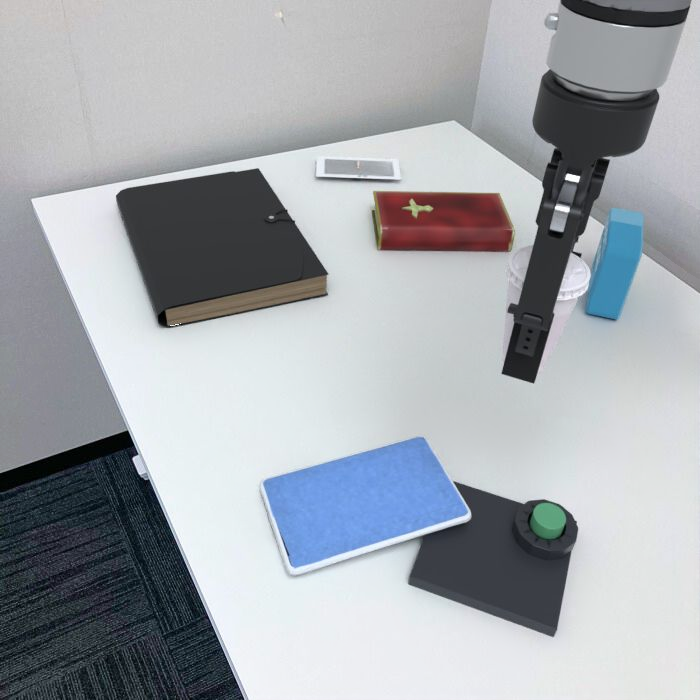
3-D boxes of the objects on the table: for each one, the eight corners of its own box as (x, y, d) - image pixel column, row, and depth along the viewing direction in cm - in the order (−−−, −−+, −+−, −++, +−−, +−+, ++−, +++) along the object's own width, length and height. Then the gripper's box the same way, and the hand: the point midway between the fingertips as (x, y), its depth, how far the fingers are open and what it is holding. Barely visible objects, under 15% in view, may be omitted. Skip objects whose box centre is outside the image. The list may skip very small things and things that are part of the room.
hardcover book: (510, 253, 117) (516, 229, 115) (377, 251, 116) (379, 228, 113) (495, 213, 126) (499, 191, 124) (371, 211, 125) (373, 189, 122)
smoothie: (516, 327, 67) (552, 187, 58) (576, 363, 64) (624, 220, 55) (471, 357, 64) (501, 213, 55) (532, 397, 60) (576, 250, 51)
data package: (589, 272, 114) (611, 202, 107) (620, 278, 113) (644, 208, 106) (584, 317, 106) (607, 245, 98) (617, 324, 105) (643, 252, 97)
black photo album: (330, 271, 104) (155, 307, 96) (329, 295, 106) (159, 332, 99) (259, 165, 127) (113, 188, 119) (260, 187, 129) (118, 210, 122)
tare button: (564, 519, 75) (568, 508, 74) (559, 544, 73) (563, 533, 72) (532, 509, 76) (536, 498, 75) (526, 533, 74) (530, 522, 73)
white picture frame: (316, 161, 138) (316, 150, 136) (397, 164, 138) (398, 153, 137) (315, 181, 132) (316, 170, 130) (400, 185, 132) (401, 173, 131)
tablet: (289, 581, 71) (288, 573, 70) (257, 485, 80) (256, 477, 79) (474, 524, 75) (475, 515, 75) (424, 440, 85) (424, 431, 84)
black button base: (574, 528, 78) (581, 511, 76) (554, 638, 68) (561, 621, 66) (444, 486, 81) (448, 468, 79) (407, 584, 72) (411, 567, 70)
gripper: (568, 26, 56) (509, 279, 71) (512, 121, 42) (453, 410, 57) (672, 44, 54) (588, 300, 69) (648, 149, 40) (550, 441, 55)
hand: (527, 350), depth 63 cm, fingers closed on smoothie, 6 cm apart
